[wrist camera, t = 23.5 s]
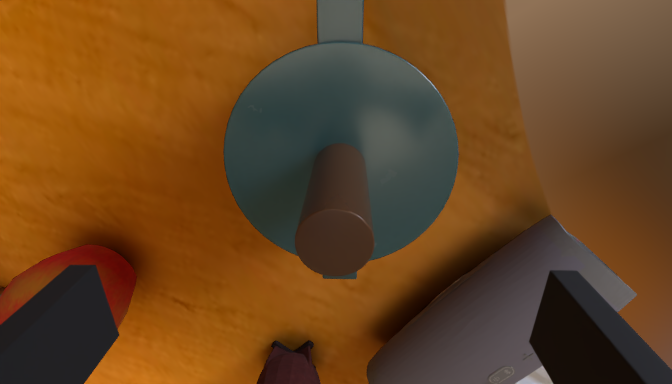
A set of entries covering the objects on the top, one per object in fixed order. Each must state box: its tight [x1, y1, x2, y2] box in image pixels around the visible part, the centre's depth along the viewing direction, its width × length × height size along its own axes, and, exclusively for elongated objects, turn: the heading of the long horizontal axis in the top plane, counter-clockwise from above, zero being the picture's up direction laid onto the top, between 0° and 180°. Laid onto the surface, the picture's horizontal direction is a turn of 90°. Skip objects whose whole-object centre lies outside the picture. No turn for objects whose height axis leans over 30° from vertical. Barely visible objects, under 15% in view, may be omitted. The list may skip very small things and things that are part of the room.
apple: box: [0, 244, 137, 329], centre depth 33 cm, size 9×9×12 cm
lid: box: [224, 41, 458, 276], centre depth 18 cm, size 13×13×9 cm
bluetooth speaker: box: [367, 215, 637, 384], centre depth 33 cm, size 23×9×10 cm, turn 141°
